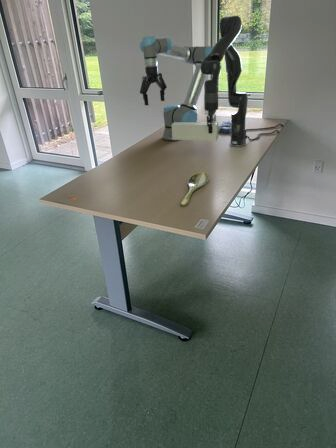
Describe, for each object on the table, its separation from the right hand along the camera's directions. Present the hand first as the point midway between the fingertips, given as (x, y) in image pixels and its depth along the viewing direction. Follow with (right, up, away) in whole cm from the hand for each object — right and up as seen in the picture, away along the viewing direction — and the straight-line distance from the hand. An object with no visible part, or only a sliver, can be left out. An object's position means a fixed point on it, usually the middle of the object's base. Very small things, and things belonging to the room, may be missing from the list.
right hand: (211, 131), depth 190 cm
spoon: (-12, -36, -20) cm, 42 cm away
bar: (-9, -3, +5) cm, 11 cm away
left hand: (-33, +23, +20) cm, 45 cm away
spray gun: (+22, +19, +65) cm, 71 cm away
